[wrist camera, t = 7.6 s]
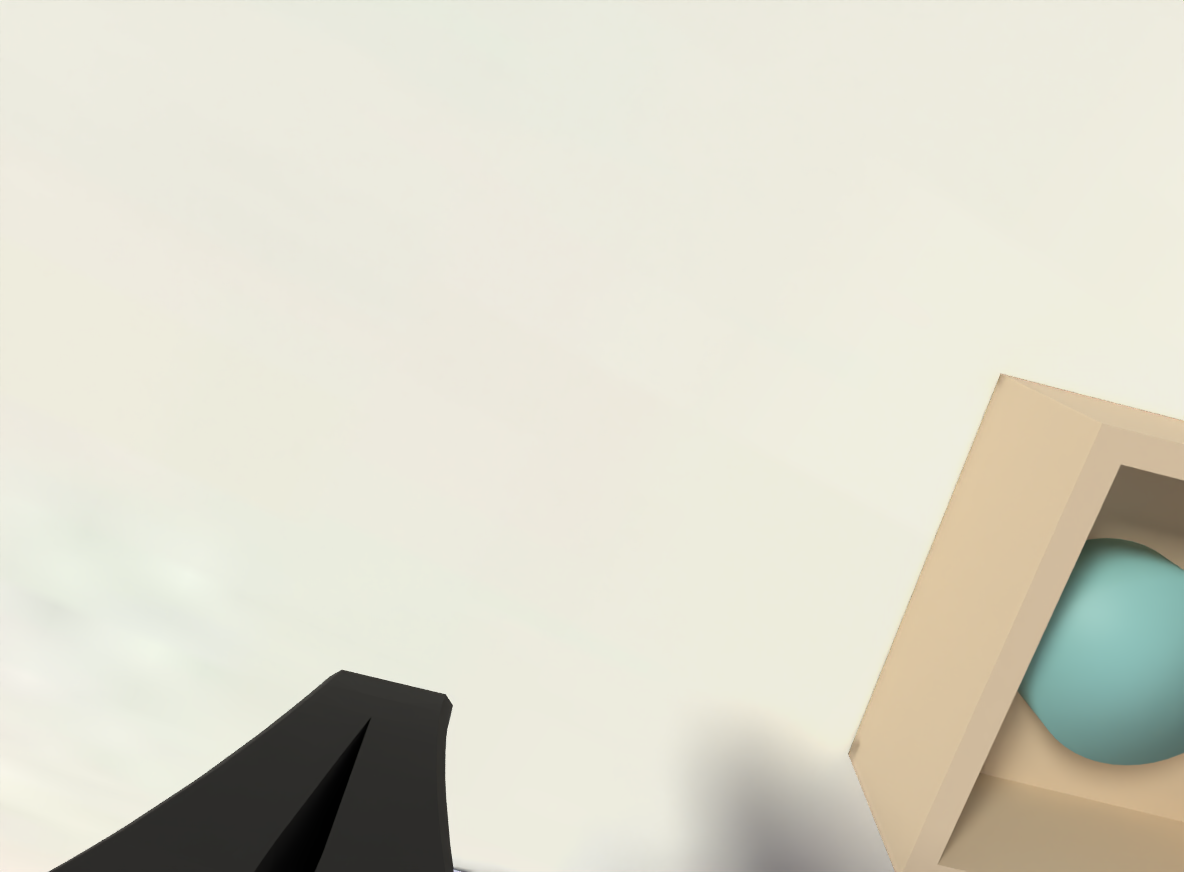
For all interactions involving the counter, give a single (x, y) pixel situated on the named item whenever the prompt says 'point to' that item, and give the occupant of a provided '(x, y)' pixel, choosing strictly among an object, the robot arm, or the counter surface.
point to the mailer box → (1041, 653)
